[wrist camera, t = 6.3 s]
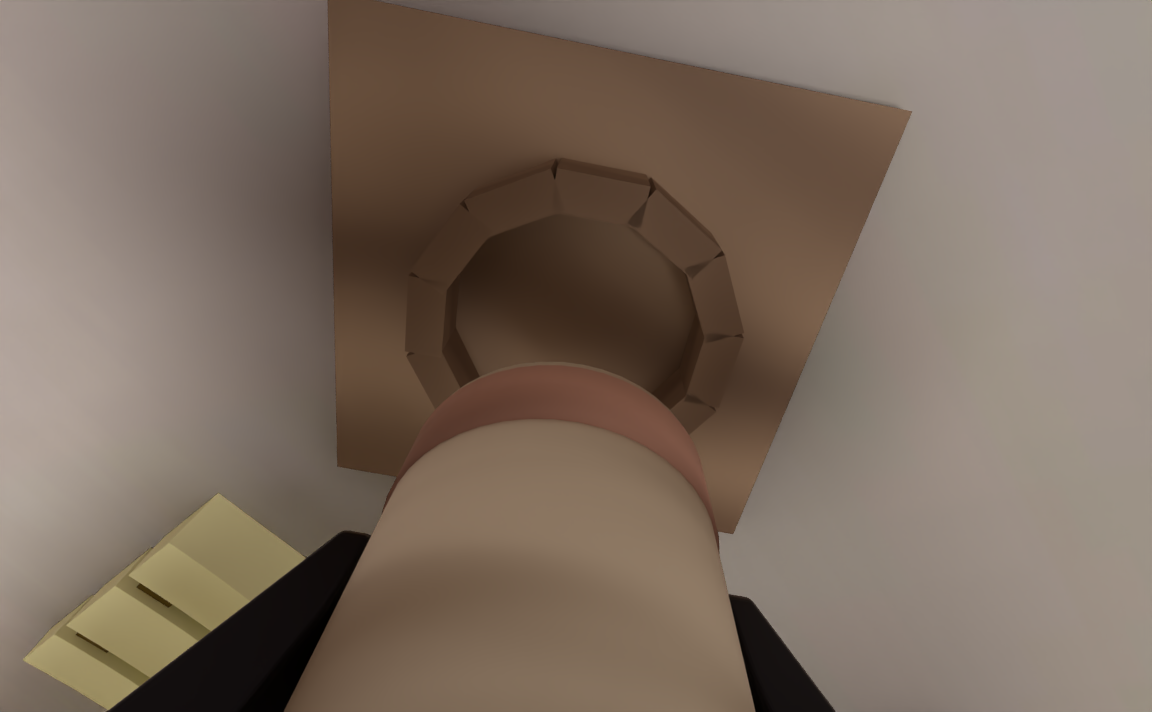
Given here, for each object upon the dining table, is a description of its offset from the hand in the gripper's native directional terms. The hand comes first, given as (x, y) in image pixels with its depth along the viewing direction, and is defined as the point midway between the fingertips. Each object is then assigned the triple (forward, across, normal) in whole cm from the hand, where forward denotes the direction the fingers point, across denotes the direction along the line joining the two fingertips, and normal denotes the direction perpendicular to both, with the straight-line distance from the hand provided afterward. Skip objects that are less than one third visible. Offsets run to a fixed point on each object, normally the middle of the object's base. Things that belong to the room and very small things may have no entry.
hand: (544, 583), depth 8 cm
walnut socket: (+10, 0, 0) cm, 10 cm away
